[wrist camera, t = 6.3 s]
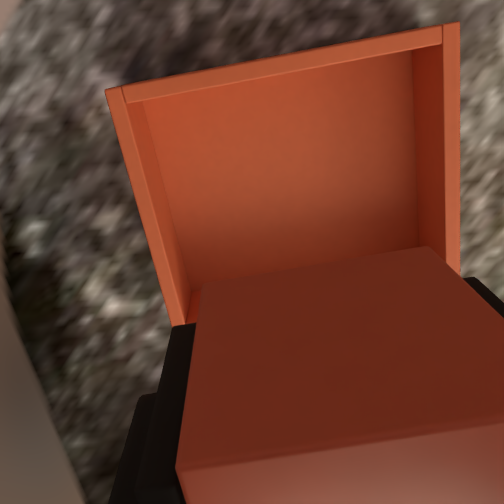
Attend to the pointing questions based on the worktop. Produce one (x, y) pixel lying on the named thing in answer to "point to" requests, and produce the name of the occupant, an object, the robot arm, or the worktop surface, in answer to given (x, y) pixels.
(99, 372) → the worktop surface
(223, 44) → the worktop surface
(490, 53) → the worktop surface
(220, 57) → the worktop surface
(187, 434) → the terracotta block
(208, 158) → the terracotta bin
